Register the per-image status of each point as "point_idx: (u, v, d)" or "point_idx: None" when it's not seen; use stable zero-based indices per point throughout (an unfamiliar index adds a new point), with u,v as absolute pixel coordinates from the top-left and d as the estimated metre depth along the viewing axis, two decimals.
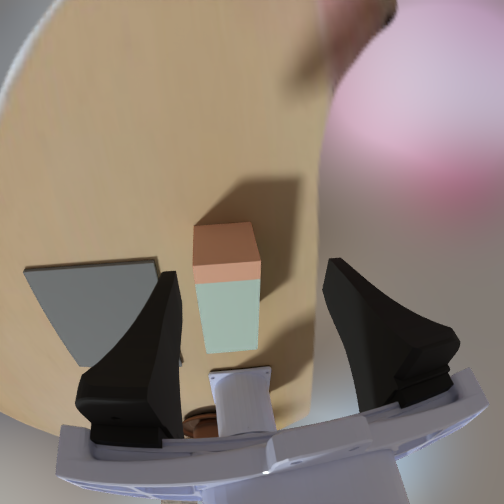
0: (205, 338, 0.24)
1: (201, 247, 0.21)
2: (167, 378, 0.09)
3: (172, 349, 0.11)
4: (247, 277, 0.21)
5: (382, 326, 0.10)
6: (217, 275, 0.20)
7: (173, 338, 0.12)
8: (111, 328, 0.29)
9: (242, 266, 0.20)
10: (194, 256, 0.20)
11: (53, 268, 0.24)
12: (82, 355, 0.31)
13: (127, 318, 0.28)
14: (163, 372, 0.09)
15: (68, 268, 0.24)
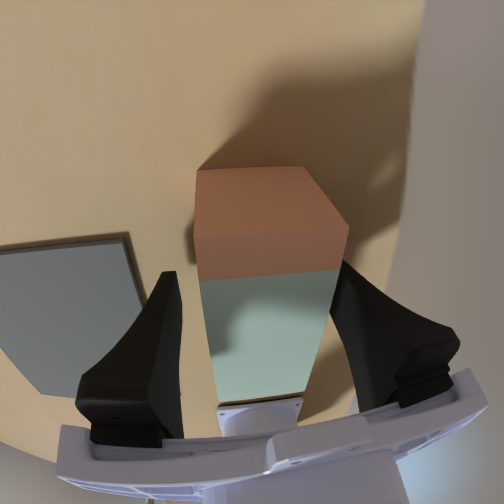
0: (217, 381, 0.13)
1: (212, 201, 0.10)
2: (167, 378, 0.09)
3: (172, 349, 0.11)
4: (314, 266, 0.09)
5: (382, 326, 0.10)
6: (251, 260, 0.09)
7: (173, 338, 0.12)
8: (70, 349, 0.17)
9: (309, 239, 0.09)
10: (197, 217, 0.09)
11: None
12: (41, 381, 0.20)
13: (90, 336, 0.17)
14: (163, 372, 0.09)
15: None
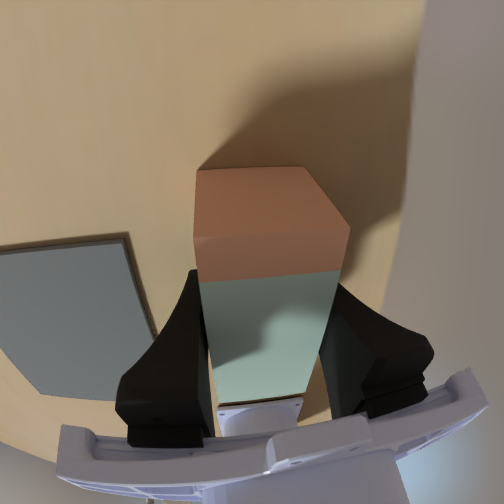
0: (217, 382, 0.13)
1: (212, 202, 0.10)
2: (204, 376, 0.09)
3: (204, 347, 0.11)
4: (315, 267, 0.09)
5: (350, 332, 0.09)
6: (251, 262, 0.09)
7: (204, 336, 0.12)
8: (70, 350, 0.17)
9: (310, 240, 0.09)
10: (197, 218, 0.09)
11: None
12: (40, 381, 0.20)
13: (90, 336, 0.17)
14: (202, 370, 0.09)
15: None
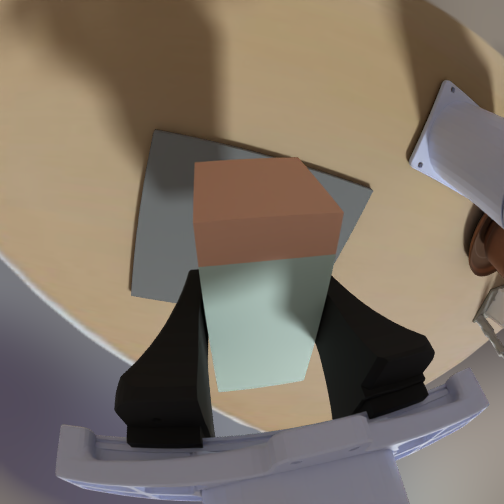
0: (217, 370, 0.13)
1: (210, 190, 0.10)
2: (204, 376, 0.09)
3: (204, 347, 0.11)
4: (311, 251, 0.10)
5: (350, 332, 0.09)
6: (248, 246, 0.09)
7: (204, 336, 0.12)
8: None
9: (305, 224, 0.09)
10: (197, 205, 0.09)
11: (134, 258, 0.22)
12: None
13: None
14: (202, 370, 0.09)
15: (136, 240, 0.21)
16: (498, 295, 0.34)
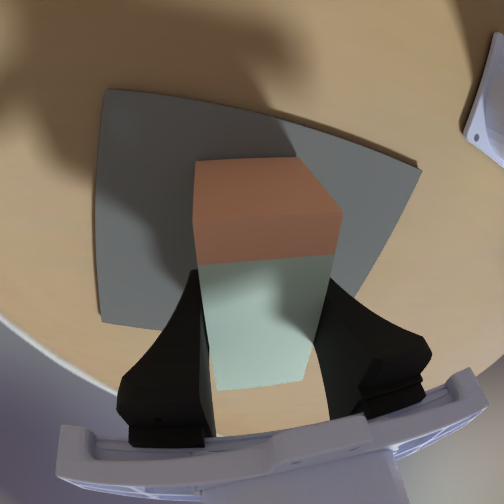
0: (215, 369, 0.13)
1: (210, 189, 0.10)
2: (205, 376, 0.09)
3: (205, 347, 0.11)
4: (310, 250, 0.10)
5: (347, 333, 0.09)
6: (247, 244, 0.09)
7: (205, 336, 0.12)
8: None
9: (304, 223, 0.09)
10: (196, 203, 0.09)
11: None
12: None
13: None
14: (204, 370, 0.09)
15: (96, 250, 0.15)
16: None
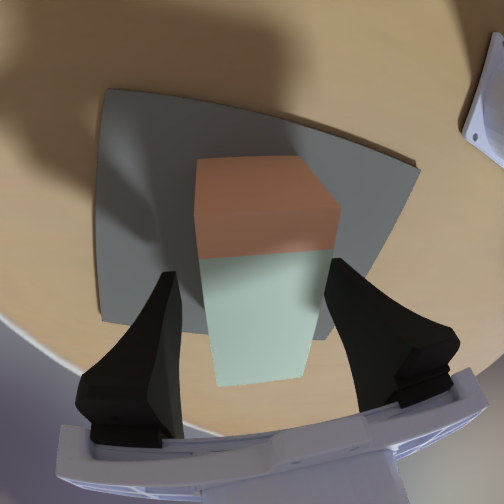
0: (216, 364, 0.13)
1: (211, 185, 0.10)
2: (167, 378, 0.09)
3: (172, 349, 0.11)
4: (309, 245, 0.10)
5: (382, 326, 0.10)
6: (248, 239, 0.09)
7: (173, 338, 0.12)
8: None
9: (303, 218, 0.09)
10: (198, 199, 0.09)
11: (98, 274, 0.16)
12: None
13: None
14: (163, 372, 0.09)
15: (96, 249, 0.15)
16: None
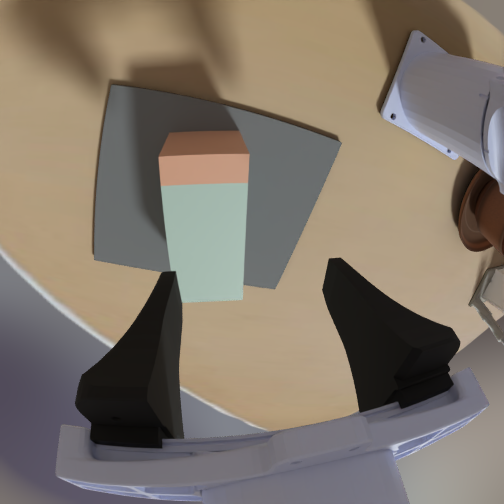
0: None
1: (173, 144, 0.16)
2: (167, 378, 0.09)
3: (172, 349, 0.11)
4: (230, 179, 0.15)
5: (382, 326, 0.10)
6: (190, 173, 0.15)
7: (173, 338, 0.12)
8: None
9: (224, 160, 0.15)
10: (163, 150, 0.15)
11: (95, 218, 0.21)
12: (253, 271, 0.26)
13: None
14: (163, 372, 0.09)
15: (96, 198, 0.20)
16: (495, 276, 0.33)
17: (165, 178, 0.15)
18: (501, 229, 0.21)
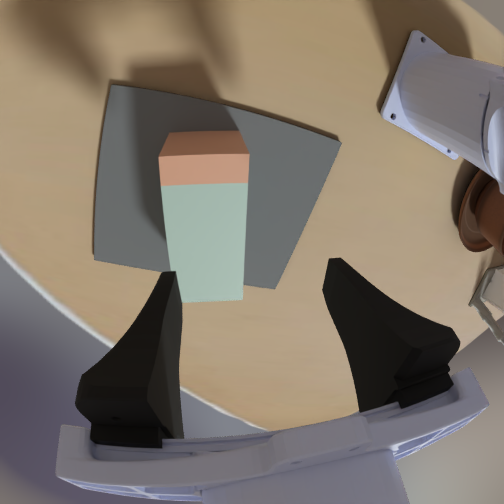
0: None
1: (173, 144, 0.16)
2: (167, 378, 0.09)
3: (172, 349, 0.11)
4: (230, 179, 0.15)
5: (382, 326, 0.10)
6: (190, 173, 0.15)
7: (173, 338, 0.12)
8: None
9: (224, 160, 0.15)
10: (163, 150, 0.15)
11: (95, 218, 0.21)
12: (253, 271, 0.26)
13: None
14: (163, 372, 0.09)
15: (96, 198, 0.20)
16: (495, 276, 0.33)
17: (165, 178, 0.15)
18: (501, 229, 0.21)
